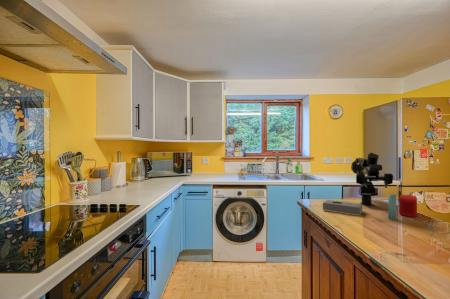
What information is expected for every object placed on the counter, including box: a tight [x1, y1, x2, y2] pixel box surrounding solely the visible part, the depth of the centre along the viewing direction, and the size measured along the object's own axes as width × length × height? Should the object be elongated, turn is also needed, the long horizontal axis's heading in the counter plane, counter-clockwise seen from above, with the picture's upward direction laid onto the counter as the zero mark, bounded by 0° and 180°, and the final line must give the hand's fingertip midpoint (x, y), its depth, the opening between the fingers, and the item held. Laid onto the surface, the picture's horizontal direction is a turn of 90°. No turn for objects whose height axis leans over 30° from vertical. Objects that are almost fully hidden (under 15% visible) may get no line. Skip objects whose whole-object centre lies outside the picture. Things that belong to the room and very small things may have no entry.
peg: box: [387, 193, 397, 221], centre depth 127 cm, size 4×4×13 cm
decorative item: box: [397, 194, 418, 218], centre depth 136 cm, size 15×9×10 cm, turn 141°
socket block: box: [322, 199, 363, 216], centre depth 144 cm, size 10×20×4 cm, turn 51°
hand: (376, 187), depth 135 cm, fingers open, 9 cm apart
